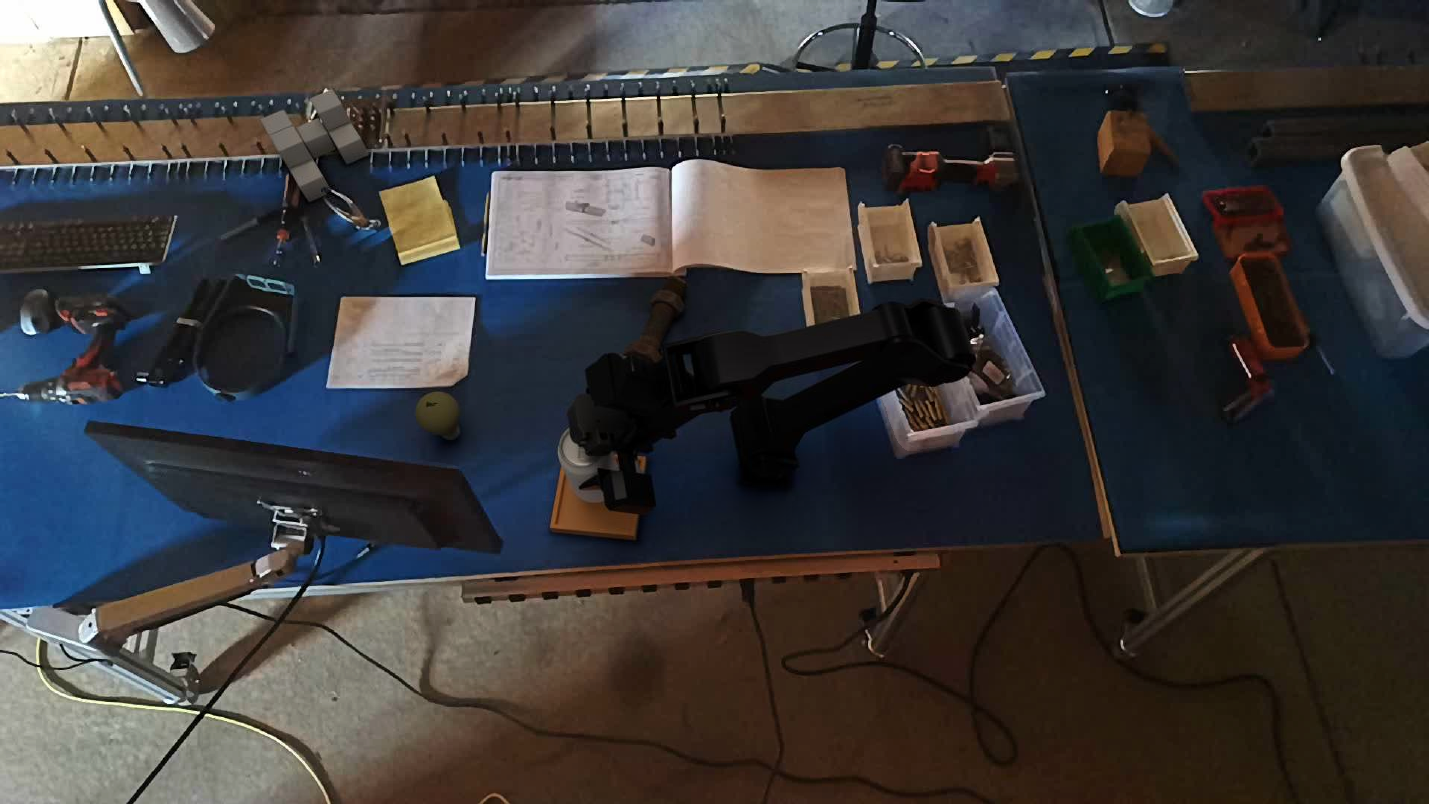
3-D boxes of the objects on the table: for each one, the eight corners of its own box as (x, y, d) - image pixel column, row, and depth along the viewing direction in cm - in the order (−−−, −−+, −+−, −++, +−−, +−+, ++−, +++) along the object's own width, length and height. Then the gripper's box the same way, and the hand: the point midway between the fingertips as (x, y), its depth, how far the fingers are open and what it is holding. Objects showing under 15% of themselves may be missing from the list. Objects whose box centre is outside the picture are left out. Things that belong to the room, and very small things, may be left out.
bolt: (682, 296, 132) (647, 376, 125) (655, 279, 130) (618, 358, 123) (700, 282, 127) (664, 364, 120) (672, 264, 125) (634, 346, 119)
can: (616, 453, 113) (606, 415, 102) (623, 499, 110) (613, 464, 100) (568, 462, 113) (552, 424, 102) (573, 508, 110) (558, 474, 99)
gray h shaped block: (309, 202, 137) (287, 168, 130) (282, 154, 141) (259, 118, 134) (379, 171, 140) (361, 136, 133) (350, 124, 144) (332, 88, 137)
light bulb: (439, 459, 118) (417, 429, 109) (426, 426, 120) (403, 394, 111) (478, 442, 119) (459, 411, 110) (464, 410, 121) (444, 377, 112)
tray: (646, 462, 118) (646, 456, 116) (635, 540, 113) (634, 535, 111) (566, 454, 118) (564, 448, 116) (552, 532, 113) (549, 527, 112)
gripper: (593, 322, 95) (514, 384, 104) (617, 476, 87) (530, 529, 96) (666, 345, 103) (587, 401, 112) (695, 489, 95) (608, 537, 104)
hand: (577, 463), depth 106 cm, fingers closed on can, 6 cm apart
